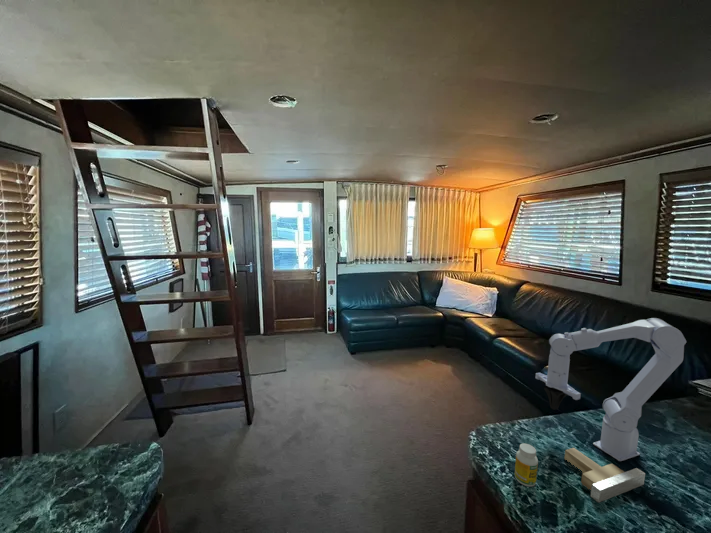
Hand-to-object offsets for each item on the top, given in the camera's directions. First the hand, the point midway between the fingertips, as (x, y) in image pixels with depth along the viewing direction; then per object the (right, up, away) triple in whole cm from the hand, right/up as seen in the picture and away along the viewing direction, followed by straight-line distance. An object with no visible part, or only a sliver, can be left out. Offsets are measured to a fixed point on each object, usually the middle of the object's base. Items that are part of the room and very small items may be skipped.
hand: (554, 408), depth 103 cm
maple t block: (0, -12, -15) cm, 19 cm away
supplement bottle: (-20, -12, -18) cm, 29 cm away
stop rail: (+3, -12, -21) cm, 25 cm away
